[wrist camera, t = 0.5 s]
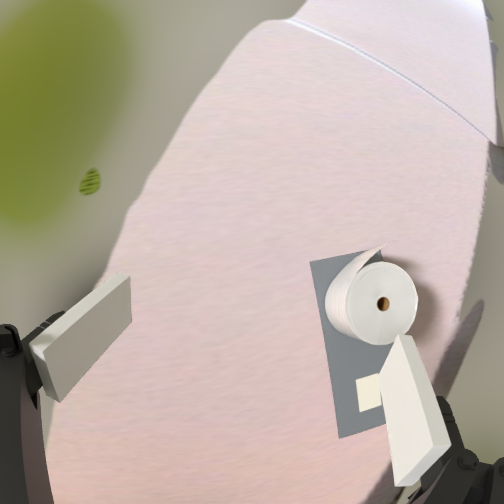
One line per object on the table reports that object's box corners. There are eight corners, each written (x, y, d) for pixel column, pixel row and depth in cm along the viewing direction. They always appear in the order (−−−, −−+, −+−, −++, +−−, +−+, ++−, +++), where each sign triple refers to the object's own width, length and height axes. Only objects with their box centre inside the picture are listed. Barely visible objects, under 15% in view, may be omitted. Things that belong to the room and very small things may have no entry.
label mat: (402, 416, 44) (403, 416, 44) (339, 438, 44) (339, 438, 44) (379, 247, 48) (379, 247, 48) (309, 261, 48) (309, 261, 47)
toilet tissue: (339, 348, 46) (362, 360, 36) (309, 277, 47) (326, 273, 37) (395, 317, 47) (428, 321, 37) (368, 249, 48) (396, 238, 38)
